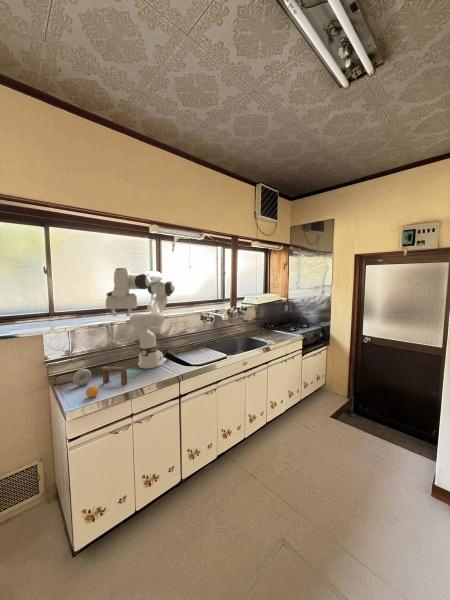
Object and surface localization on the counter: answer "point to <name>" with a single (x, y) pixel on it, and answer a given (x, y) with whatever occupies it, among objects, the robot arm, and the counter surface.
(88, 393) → the ball
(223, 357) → the counter surface
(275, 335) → the counter surface
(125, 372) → the bridge
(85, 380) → the donut
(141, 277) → the robot arm
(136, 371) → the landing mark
